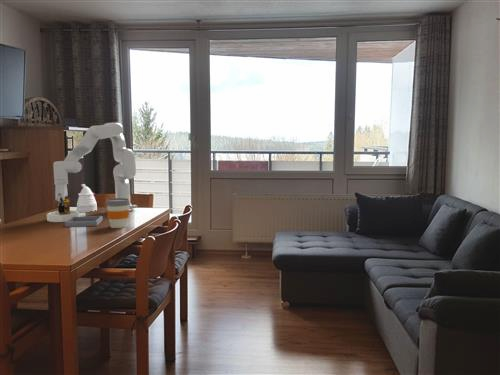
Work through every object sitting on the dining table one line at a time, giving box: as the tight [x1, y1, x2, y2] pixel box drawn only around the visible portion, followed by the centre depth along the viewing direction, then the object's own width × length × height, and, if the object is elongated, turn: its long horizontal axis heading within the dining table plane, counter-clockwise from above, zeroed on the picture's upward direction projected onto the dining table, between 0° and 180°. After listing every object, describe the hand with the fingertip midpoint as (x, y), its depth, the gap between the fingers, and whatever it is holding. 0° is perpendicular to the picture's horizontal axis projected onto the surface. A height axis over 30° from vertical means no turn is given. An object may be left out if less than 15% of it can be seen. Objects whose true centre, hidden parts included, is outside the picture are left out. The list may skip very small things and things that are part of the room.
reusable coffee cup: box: [105, 197, 131, 229], centre depth 231 cm, size 13×13×15 cm
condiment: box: [58, 195, 71, 215], centre depth 253 cm, size 7×8×12 cm
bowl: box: [46, 209, 80, 223], centre depth 254 cm, size 17×17×4 cm
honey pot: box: [76, 183, 98, 213], centre depth 286 cm, size 13×13×18 cm
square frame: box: [64, 215, 104, 228], centre depth 241 cm, size 17×17×2 cm
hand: (63, 210), depth 254 cm, fingers closed on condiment, 6 cm apart
